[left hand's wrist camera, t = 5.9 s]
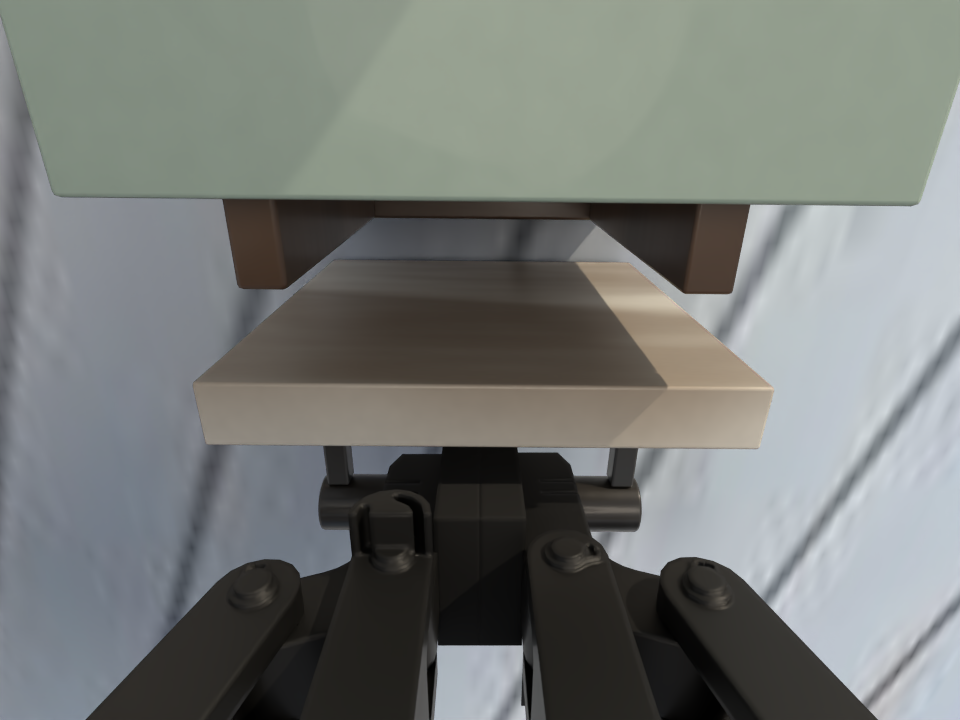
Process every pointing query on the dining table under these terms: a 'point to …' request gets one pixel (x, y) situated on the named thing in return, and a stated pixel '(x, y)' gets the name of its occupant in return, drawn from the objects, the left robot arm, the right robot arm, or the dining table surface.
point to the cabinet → (489, 98)
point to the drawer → (484, 345)
